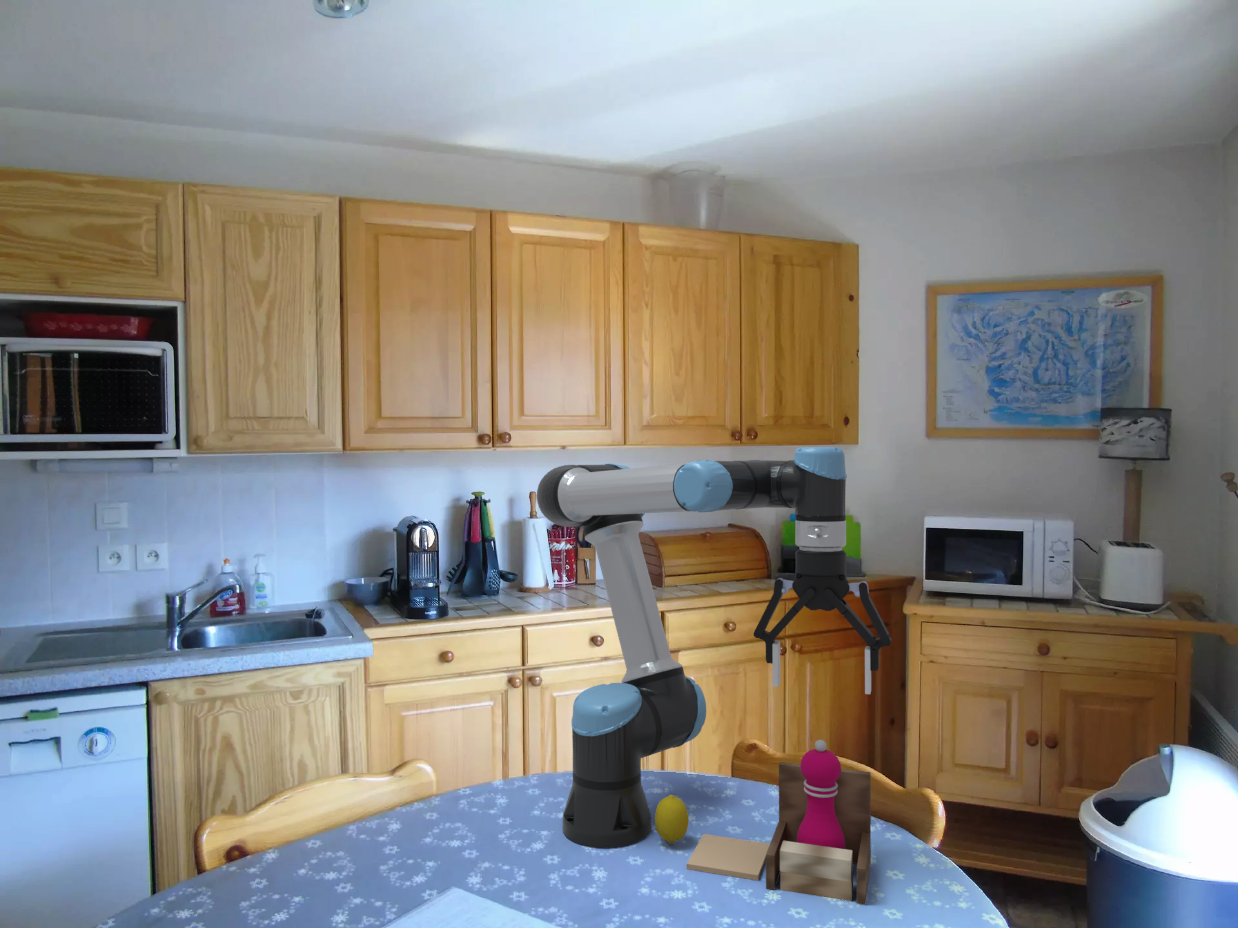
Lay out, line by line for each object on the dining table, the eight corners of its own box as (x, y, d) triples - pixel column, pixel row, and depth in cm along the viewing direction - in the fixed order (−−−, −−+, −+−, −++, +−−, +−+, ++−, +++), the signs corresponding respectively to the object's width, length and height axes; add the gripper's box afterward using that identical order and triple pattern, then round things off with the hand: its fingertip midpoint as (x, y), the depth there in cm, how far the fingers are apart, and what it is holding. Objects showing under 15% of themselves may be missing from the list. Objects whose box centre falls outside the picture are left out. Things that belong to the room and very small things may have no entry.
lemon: (693, 839, 140) (693, 791, 140) (681, 854, 135) (681, 803, 135) (662, 833, 142) (662, 786, 142) (649, 847, 137) (649, 798, 137)
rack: (766, 888, 124) (765, 792, 124) (780, 848, 137) (779, 761, 137) (865, 904, 120) (865, 805, 119) (870, 861, 132) (870, 772, 132)
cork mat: (686, 868, 130) (686, 863, 130) (703, 838, 141) (703, 833, 141) (758, 880, 127) (758, 874, 127) (770, 848, 137) (770, 843, 137)
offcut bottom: (780, 891, 124) (780, 870, 124) (783, 880, 127) (783, 860, 127) (851, 903, 121) (851, 881, 121) (853, 891, 124) (853, 870, 124)
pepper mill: (847, 863, 132) (846, 735, 132) (843, 886, 125) (843, 750, 125) (799, 856, 134) (799, 730, 134) (793, 878, 127) (793, 744, 127)
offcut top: (779, 870, 124) (779, 850, 124) (783, 860, 127) (783, 840, 127) (850, 881, 121) (850, 860, 121) (852, 870, 124) (852, 850, 124)
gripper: (734, 548, 130) (735, 687, 130) (907, 553, 121) (908, 701, 121) (744, 544, 137) (744, 675, 137) (907, 548, 128) (908, 688, 128)
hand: (821, 688), depth 129 cm, fingers open, 13 cm apart
